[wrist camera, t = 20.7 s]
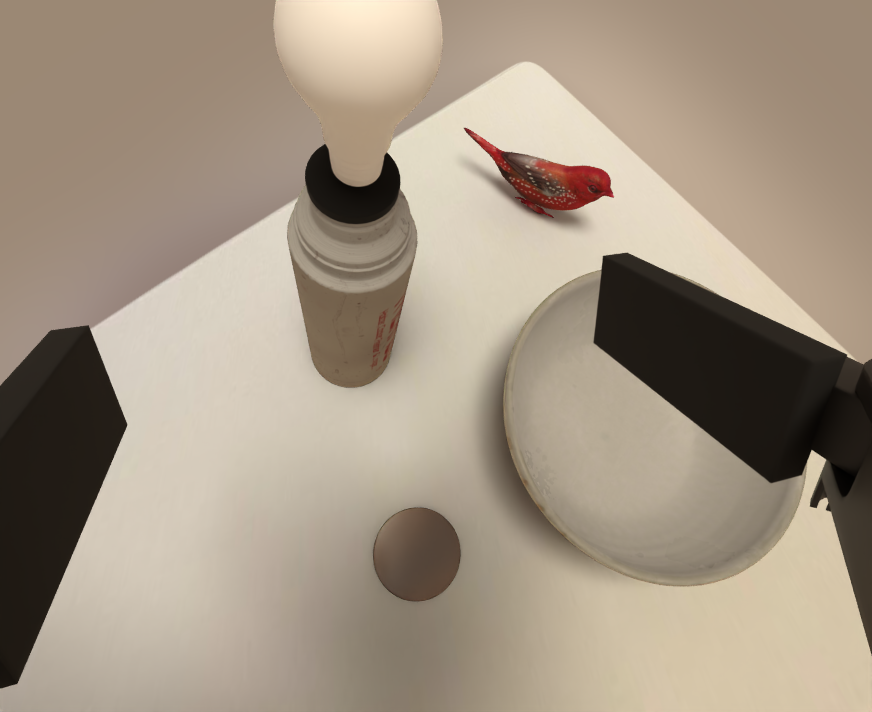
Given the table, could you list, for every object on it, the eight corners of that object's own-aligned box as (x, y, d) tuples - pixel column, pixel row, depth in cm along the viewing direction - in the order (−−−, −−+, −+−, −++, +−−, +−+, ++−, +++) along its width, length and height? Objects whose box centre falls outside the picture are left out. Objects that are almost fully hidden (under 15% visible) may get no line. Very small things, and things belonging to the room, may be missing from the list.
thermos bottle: (405, 345, 54) (461, 173, 28) (356, 403, 51) (365, 273, 25) (346, 299, 54) (345, 87, 28) (294, 354, 52) (239, 175, 26)
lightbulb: (393, 244, 26) (424, 55, 15) (275, 201, 25) (226, -22, 15) (430, 151, 28) (479, -70, 18) (321, 110, 27) (306, -139, 17)
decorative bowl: (433, 511, 49) (459, 506, 38) (517, 280, 59) (558, 221, 47) (689, 616, 50) (790, 641, 39) (731, 371, 59) (822, 334, 48)
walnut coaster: (359, 582, 46) (359, 583, 46) (391, 495, 49) (392, 495, 48) (443, 613, 47) (444, 614, 46) (470, 524, 49) (471, 524, 49)
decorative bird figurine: (577, 245, 61) (619, 194, 52) (447, 173, 62) (465, 109, 52) (586, 227, 62) (629, 174, 53) (458, 156, 63) (477, 91, 53)
